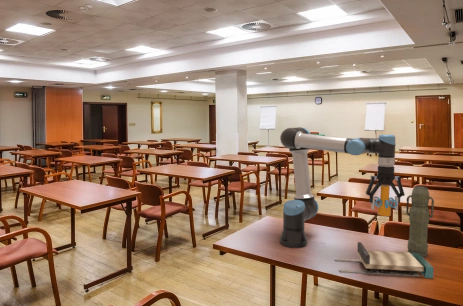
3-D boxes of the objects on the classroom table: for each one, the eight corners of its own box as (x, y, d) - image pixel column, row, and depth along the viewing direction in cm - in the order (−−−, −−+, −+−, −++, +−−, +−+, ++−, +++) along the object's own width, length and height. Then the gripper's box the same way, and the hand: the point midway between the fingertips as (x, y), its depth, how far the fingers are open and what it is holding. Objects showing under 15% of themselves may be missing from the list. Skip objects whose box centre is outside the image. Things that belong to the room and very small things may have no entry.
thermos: (403, 249, 176) (406, 184, 173) (428, 252, 172) (432, 186, 168) (405, 255, 168) (408, 187, 165) (431, 259, 164) (435, 189, 160)
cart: (365, 272, 148) (366, 255, 147) (357, 258, 163) (357, 242, 163) (423, 276, 144) (424, 258, 144) (408, 260, 160) (409, 244, 159)
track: (339, 273, 149) (340, 262, 149) (334, 258, 165) (334, 248, 165) (432, 278, 144) (433, 267, 143) (417, 262, 160) (418, 252, 159)
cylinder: (398, 219, 160) (400, 188, 159) (376, 217, 162) (377, 187, 161) (391, 212, 172) (392, 183, 171) (370, 211, 174) (371, 183, 173)
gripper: (363, 166, 162) (362, 210, 165) (413, 167, 159) (411, 211, 162) (360, 164, 170) (358, 206, 172) (407, 164, 167) (405, 207, 169)
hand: (384, 209), depth 167 cm, fingers closed on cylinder, 10 cm apart
